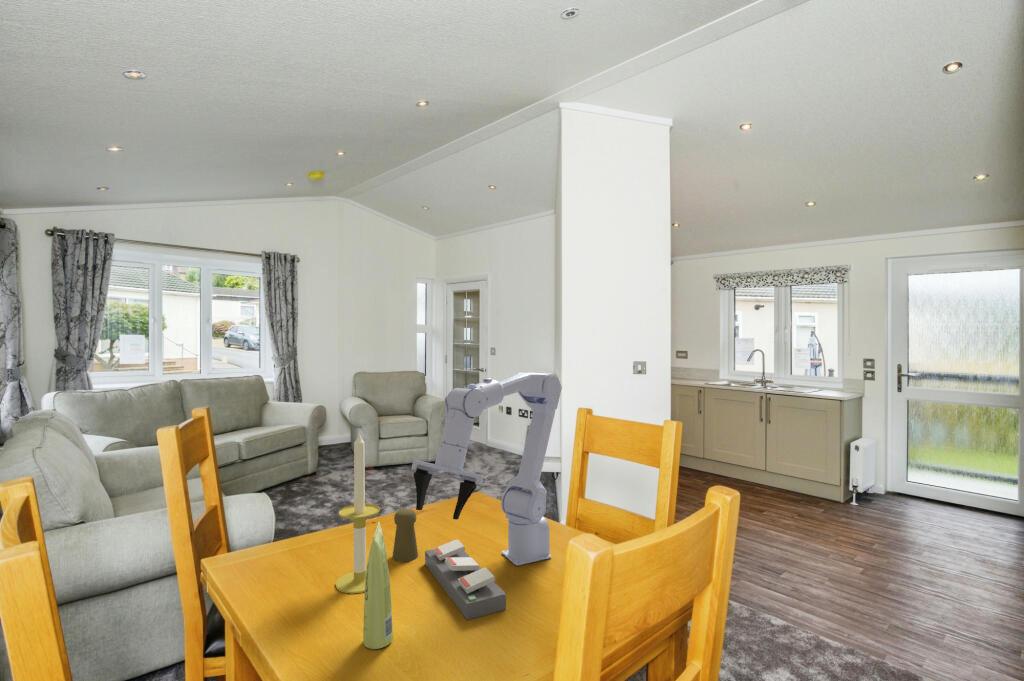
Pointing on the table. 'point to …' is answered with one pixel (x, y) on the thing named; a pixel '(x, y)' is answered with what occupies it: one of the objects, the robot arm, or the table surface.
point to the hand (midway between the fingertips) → (437, 514)
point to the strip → (471, 603)
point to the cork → (405, 536)
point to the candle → (357, 524)
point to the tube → (377, 596)
